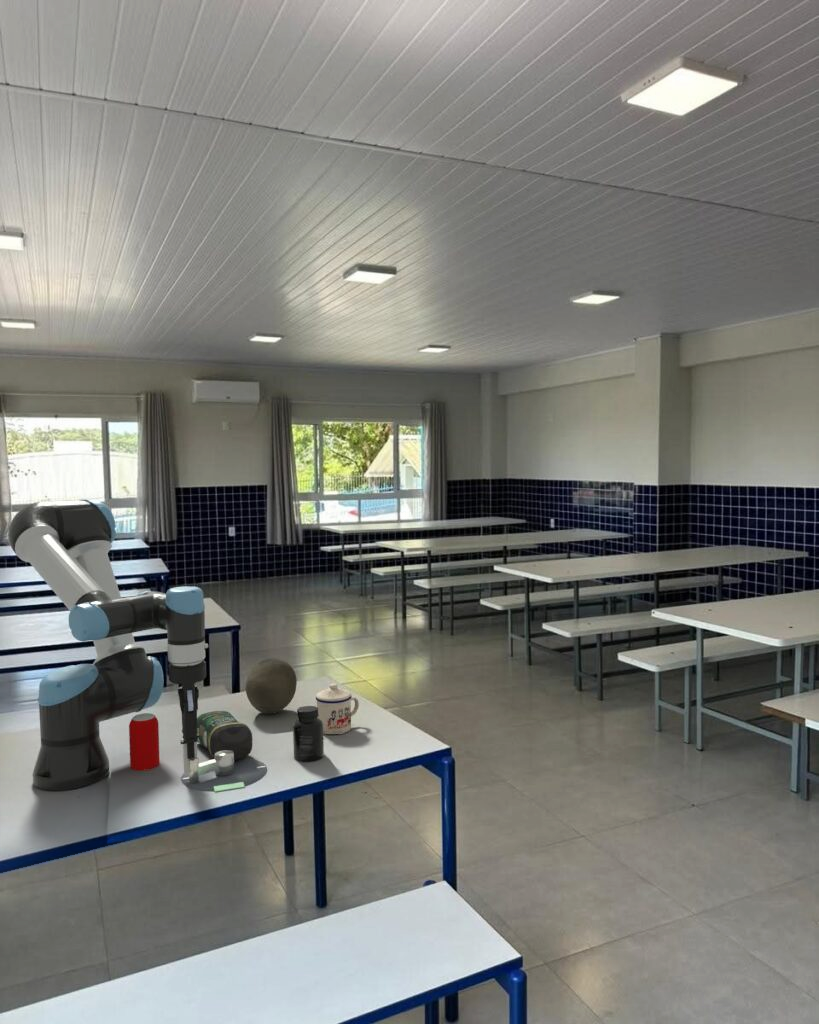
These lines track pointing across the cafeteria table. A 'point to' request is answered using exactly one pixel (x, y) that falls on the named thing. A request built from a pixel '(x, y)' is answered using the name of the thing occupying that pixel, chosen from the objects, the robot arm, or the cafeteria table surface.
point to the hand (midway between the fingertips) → (190, 771)
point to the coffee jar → (224, 734)
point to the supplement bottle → (308, 735)
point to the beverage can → (144, 742)
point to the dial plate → (229, 777)
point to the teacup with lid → (335, 709)
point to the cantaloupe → (271, 685)
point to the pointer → (212, 765)
